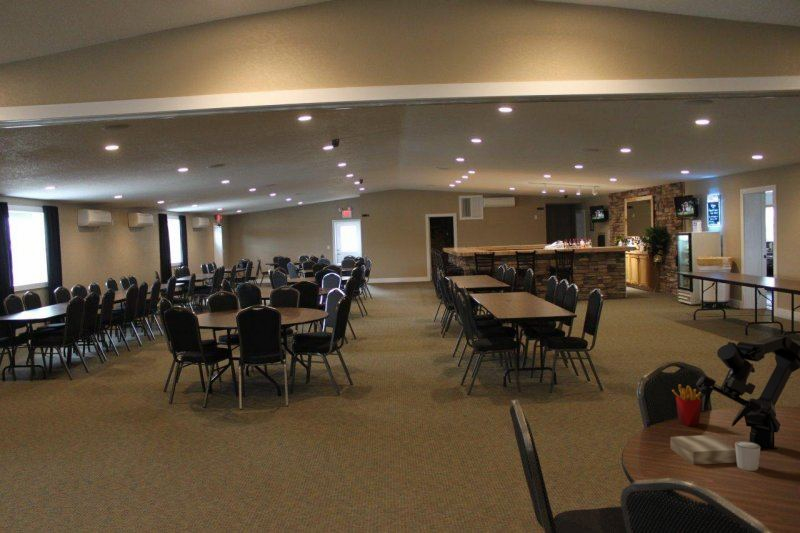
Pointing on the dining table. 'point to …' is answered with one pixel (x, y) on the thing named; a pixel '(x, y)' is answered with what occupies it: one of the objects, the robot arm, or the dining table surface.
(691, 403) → the french fries
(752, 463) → the white cup
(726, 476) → the dining table surface
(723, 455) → the birch block
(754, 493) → the dining table surface
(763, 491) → the dining table surface
